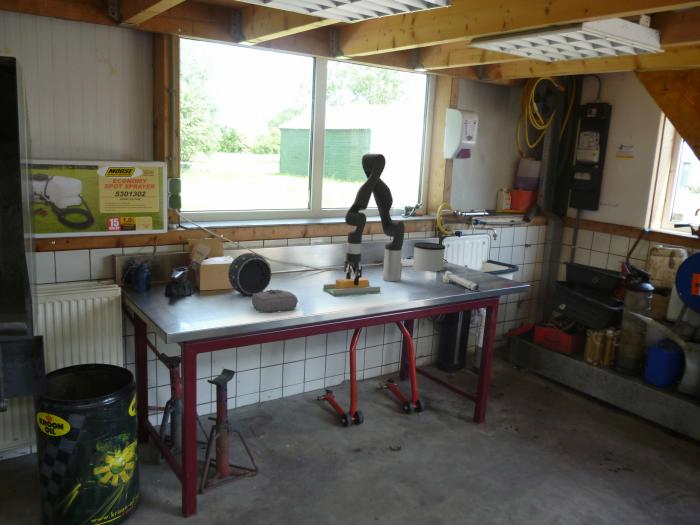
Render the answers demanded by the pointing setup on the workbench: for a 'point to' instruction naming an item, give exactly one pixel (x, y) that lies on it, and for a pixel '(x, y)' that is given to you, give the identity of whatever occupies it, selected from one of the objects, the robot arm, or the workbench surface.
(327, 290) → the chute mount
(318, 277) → the workbench surface
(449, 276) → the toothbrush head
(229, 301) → the workbench surface
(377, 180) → the robot arm
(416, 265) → the container
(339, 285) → the chute
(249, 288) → the dark patterned drum
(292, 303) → the soft grey pack
